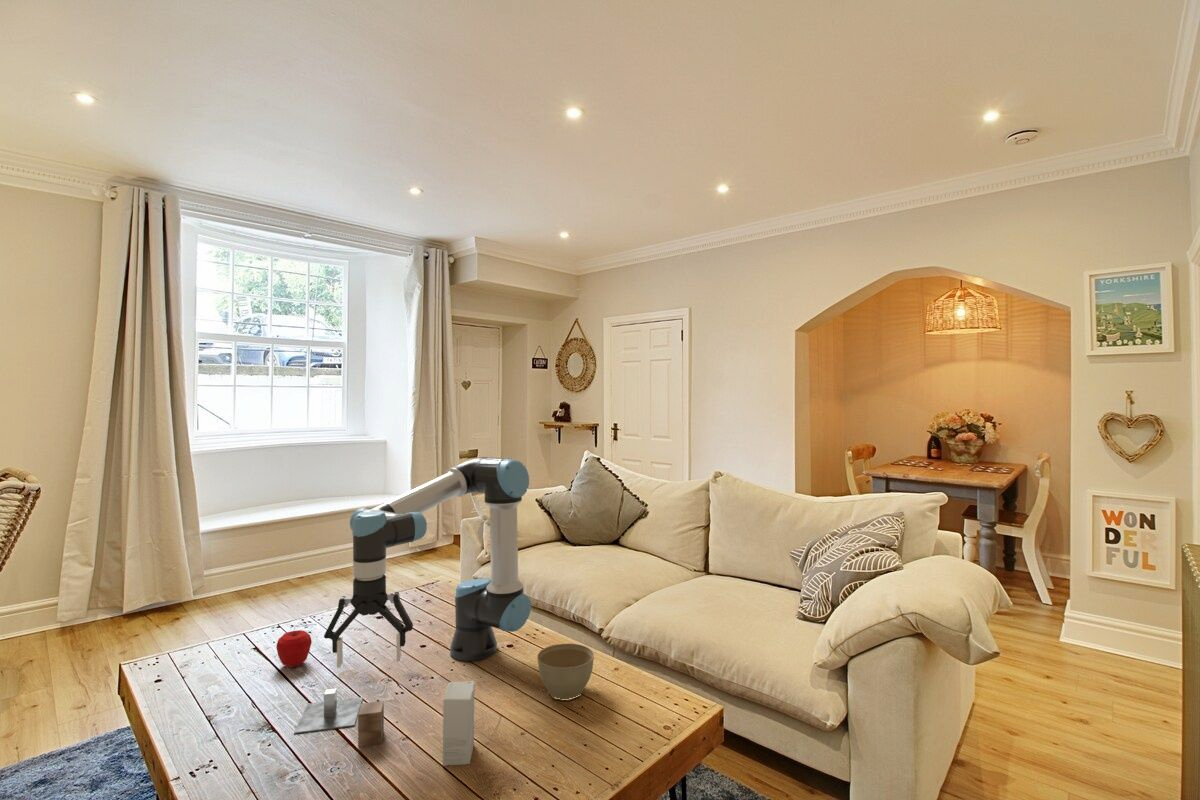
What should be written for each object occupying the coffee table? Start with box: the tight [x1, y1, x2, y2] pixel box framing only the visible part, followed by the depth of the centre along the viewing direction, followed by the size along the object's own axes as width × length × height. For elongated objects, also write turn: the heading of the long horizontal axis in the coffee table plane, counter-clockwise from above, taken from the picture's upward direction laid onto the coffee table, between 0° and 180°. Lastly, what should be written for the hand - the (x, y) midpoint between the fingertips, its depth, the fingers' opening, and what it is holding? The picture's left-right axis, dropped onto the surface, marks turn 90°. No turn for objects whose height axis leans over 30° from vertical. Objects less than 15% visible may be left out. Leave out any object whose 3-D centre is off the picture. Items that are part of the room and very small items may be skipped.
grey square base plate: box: [293, 687, 363, 735], centre depth 152 cm, size 14×14×6 cm
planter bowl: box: [537, 642, 595, 699], centre depth 164 cm, size 16×16×11 cm
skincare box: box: [442, 680, 476, 767], centre depth 135 cm, size 8×7×16 cm
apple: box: [275, 629, 312, 668], centre depth 181 cm, size 10×10×11 cm
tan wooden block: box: [357, 700, 385, 748], centre depth 142 cm, size 5×5×8 cm
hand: (369, 662), depth 142 cm, fingers open, 13 cm apart
